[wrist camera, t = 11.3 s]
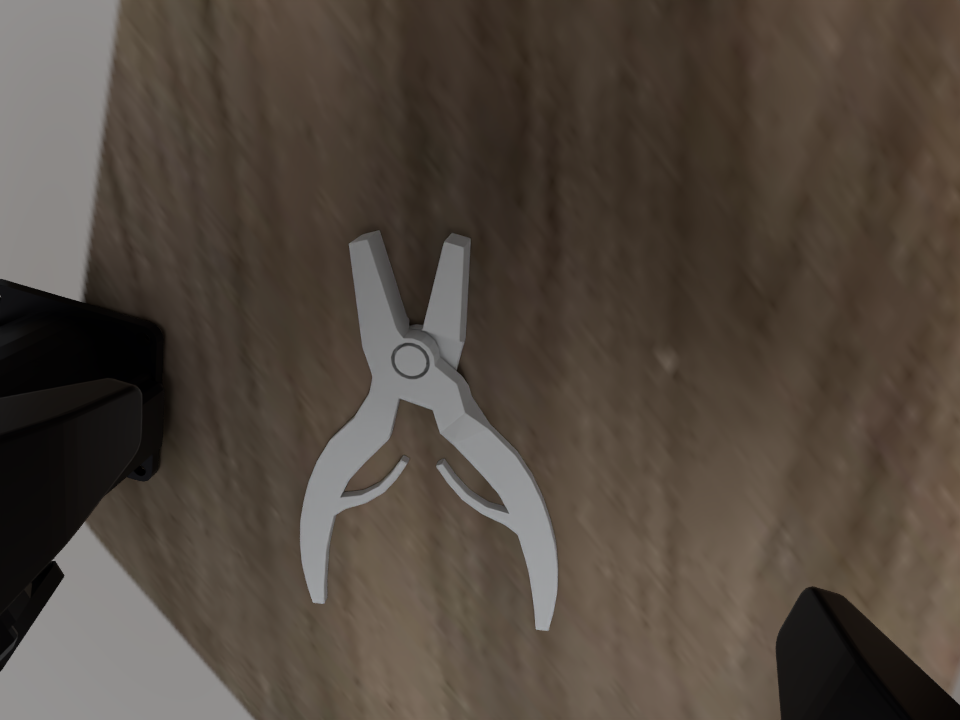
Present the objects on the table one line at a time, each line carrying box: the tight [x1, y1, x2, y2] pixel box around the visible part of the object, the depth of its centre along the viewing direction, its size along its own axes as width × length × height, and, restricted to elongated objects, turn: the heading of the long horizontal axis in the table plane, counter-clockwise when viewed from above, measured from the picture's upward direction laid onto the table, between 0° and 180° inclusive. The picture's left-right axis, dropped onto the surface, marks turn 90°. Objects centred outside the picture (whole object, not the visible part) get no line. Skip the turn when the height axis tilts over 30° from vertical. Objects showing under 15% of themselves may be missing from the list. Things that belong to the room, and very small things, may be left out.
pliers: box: [300, 230, 558, 631], centre depth 24 cm, size 10×2×15 cm
